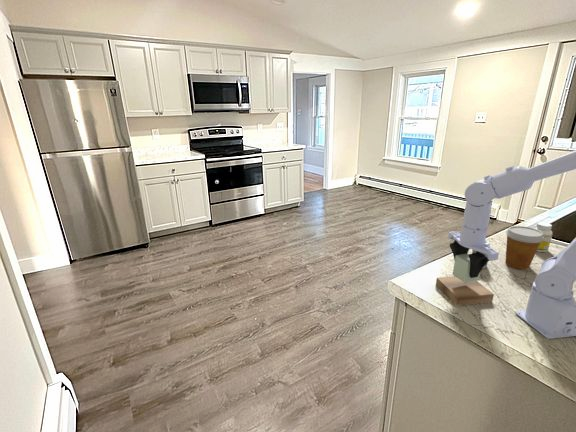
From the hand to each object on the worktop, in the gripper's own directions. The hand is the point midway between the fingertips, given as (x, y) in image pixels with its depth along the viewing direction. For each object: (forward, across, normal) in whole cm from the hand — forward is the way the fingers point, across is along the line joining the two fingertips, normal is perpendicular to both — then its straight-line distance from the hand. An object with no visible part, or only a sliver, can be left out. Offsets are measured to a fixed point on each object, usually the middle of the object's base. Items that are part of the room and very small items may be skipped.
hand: (466, 272), depth 83 cm
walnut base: (+7, 0, 0) cm, 7 cm away
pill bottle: (+7, +12, -17) cm, 22 cm away
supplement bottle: (+7, +15, -46) cm, 48 cm away
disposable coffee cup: (+7, +8, -28) cm, 30 cm away
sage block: (+2, 0, 0) cm, 2 cm away
